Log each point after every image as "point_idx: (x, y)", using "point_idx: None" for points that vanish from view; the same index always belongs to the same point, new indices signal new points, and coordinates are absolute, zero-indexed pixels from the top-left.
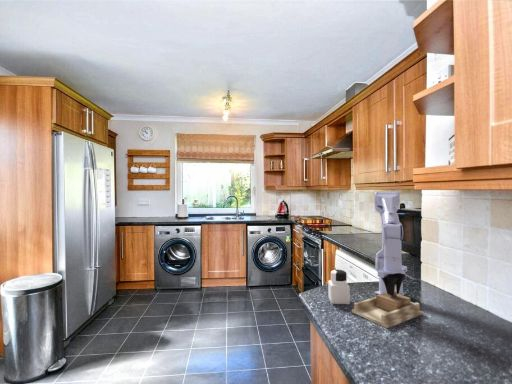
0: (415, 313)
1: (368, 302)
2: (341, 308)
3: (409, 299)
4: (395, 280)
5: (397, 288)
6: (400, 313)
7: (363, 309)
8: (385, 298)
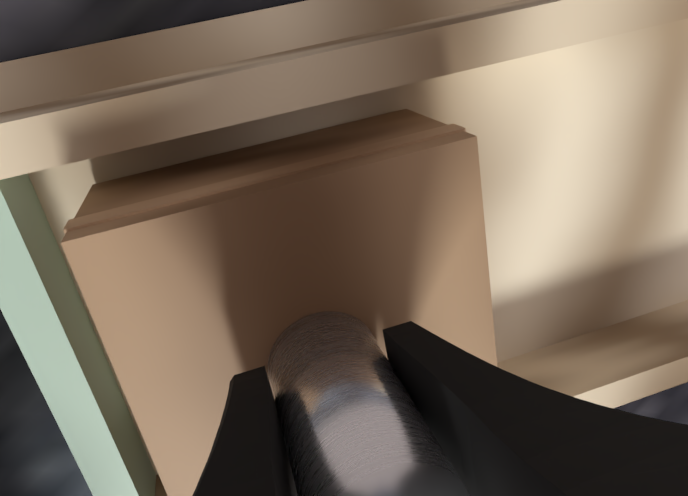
0: (119, 50)
1: (559, 383)
2: (678, 410)
3: (92, 226)
4: (635, 478)
5: (275, 440)
6: (453, 18)
7: (608, 319)
8: (491, 319)
